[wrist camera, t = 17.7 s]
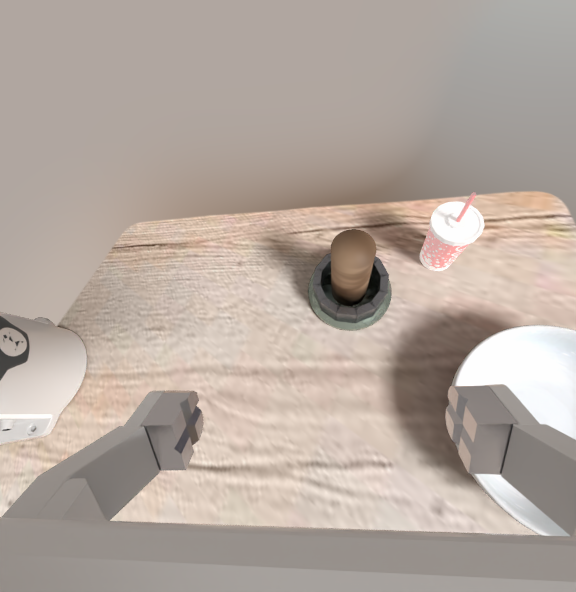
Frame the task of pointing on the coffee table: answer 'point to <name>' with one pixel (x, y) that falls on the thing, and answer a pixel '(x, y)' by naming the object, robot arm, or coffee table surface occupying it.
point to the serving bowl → (527, 397)
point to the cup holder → (349, 315)
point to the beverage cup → (450, 233)
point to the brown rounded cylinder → (351, 266)
